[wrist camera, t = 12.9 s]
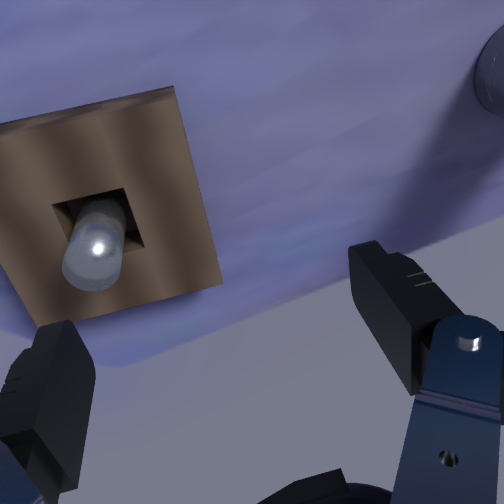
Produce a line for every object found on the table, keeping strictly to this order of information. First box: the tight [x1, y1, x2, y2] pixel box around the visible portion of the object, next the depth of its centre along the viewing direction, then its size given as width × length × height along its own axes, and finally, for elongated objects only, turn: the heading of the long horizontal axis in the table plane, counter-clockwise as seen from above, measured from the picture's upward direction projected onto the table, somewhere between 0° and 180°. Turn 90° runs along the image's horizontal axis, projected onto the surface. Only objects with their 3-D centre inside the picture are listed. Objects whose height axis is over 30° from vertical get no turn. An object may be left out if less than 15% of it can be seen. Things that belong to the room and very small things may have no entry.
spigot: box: [62, 190, 128, 291], centre depth 36 cm, size 4×4×11 cm
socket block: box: [0, 86, 223, 328], centre depth 40 cm, size 18×18×5 cm
